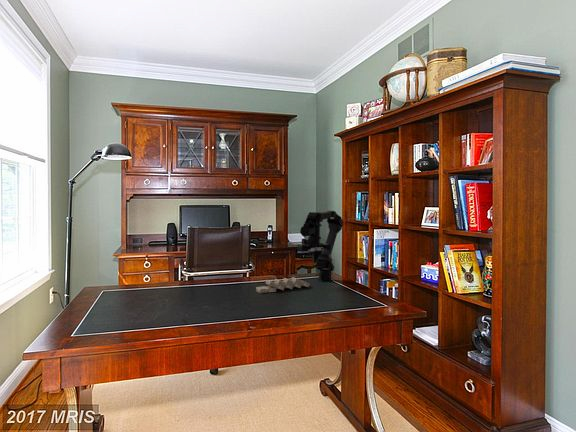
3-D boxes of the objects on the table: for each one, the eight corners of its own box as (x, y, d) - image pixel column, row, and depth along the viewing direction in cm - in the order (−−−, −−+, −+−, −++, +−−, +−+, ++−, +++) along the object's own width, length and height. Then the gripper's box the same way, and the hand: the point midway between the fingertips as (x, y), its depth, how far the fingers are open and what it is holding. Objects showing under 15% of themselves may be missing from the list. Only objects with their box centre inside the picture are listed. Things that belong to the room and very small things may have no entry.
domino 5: (305, 282, 212) (292, 276, 208) (310, 283, 208) (296, 278, 204) (304, 285, 212) (291, 280, 208) (308, 287, 207) (295, 282, 204)
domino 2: (281, 284, 205) (266, 279, 201) (284, 286, 201) (270, 281, 197) (279, 288, 205) (265, 283, 201) (283, 290, 201) (268, 285, 197)
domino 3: (289, 283, 208) (275, 278, 204) (293, 285, 203) (279, 280, 199) (287, 287, 207) (274, 282, 204) (291, 289, 203) (277, 284, 199)
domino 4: (297, 282, 210) (283, 277, 206) (301, 284, 206) (287, 279, 202) (296, 286, 210) (282, 281, 206) (300, 288, 205) (286, 283, 201)
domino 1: (272, 285, 203) (256, 287, 199) (276, 287, 199) (259, 289, 195) (272, 289, 203) (256, 291, 199) (276, 291, 199) (259, 293, 195)
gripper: (321, 232, 224) (321, 259, 225) (292, 234, 215) (292, 261, 216) (332, 234, 214) (331, 262, 215) (302, 236, 205) (302, 265, 206)
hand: (314, 263), depth 213 cm, fingers closed
